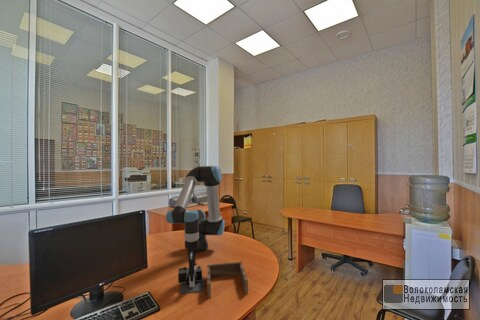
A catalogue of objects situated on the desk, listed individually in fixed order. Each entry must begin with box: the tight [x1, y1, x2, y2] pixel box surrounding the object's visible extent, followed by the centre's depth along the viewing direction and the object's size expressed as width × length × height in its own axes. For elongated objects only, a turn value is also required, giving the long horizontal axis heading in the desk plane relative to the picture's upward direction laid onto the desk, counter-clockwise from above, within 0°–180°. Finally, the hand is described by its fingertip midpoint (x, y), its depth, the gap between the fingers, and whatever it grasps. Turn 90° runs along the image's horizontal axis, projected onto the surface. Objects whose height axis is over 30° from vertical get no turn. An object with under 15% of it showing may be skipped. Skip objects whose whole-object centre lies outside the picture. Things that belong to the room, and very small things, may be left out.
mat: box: [179, 275, 205, 295], centre depth 117 cm, size 14×12×1 cm
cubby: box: [206, 261, 249, 299], centre depth 116 cm, size 20×20×7 cm
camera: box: [177, 265, 203, 285], centre depth 117 cm, size 13×8×9 cm, turn 104°
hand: (192, 282), depth 117 cm, fingers closed on camera, 8 cm apart
